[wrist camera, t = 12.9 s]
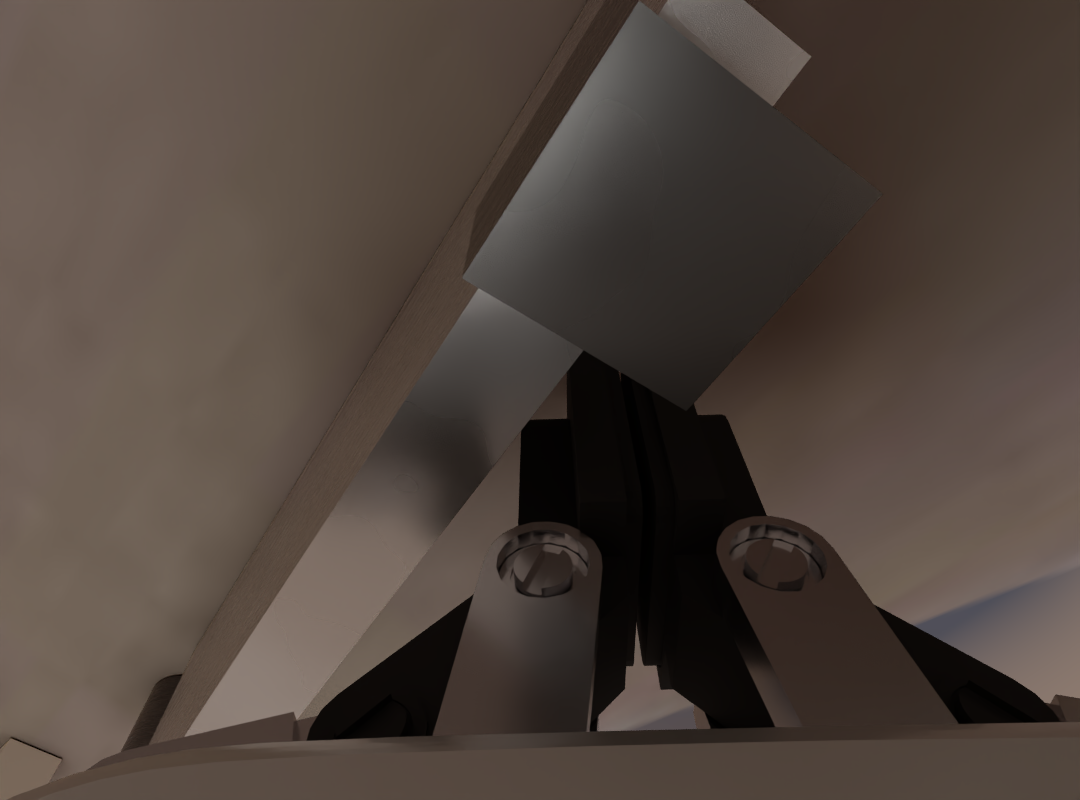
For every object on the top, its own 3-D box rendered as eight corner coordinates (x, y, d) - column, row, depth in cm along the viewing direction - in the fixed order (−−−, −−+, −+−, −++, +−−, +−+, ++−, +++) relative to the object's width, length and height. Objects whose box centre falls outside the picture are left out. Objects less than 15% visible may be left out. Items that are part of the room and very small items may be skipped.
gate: (254, 672, 19) (108, 1048, 12) (179, 644, 18) (-15, 1025, 12) (698, 26, 11) (943, 127, 4) (592, -61, 10) (696, -89, 4)
